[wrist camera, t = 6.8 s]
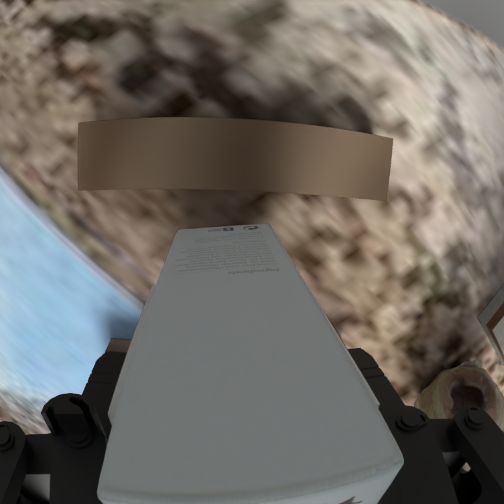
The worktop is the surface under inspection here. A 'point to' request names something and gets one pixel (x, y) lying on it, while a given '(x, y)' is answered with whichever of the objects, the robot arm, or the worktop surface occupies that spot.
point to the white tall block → (495, 323)
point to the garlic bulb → (462, 394)
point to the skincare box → (242, 388)
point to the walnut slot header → (231, 159)
